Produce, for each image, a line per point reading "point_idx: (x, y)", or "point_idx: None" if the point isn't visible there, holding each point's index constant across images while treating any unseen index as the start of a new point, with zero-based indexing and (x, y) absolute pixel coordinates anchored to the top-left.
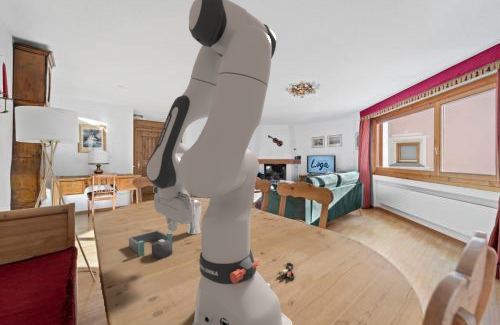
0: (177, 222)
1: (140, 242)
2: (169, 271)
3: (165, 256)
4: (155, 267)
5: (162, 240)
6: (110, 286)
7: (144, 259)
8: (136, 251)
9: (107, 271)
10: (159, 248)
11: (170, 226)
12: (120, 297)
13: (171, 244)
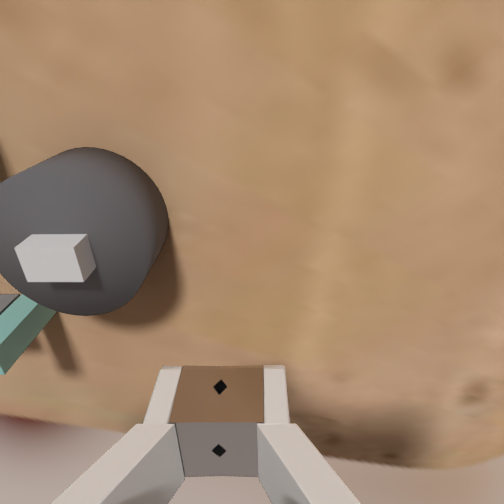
0: (346, 500)
1: (2, 370)
2: (349, 278)
3: (166, 225)
4: (248, 305)
5: (49, 261)
6: None
7: None
8: None
9: None
10: (137, 290)
11: (242, 466)
12: (361, 443)
13: (115, 196)
